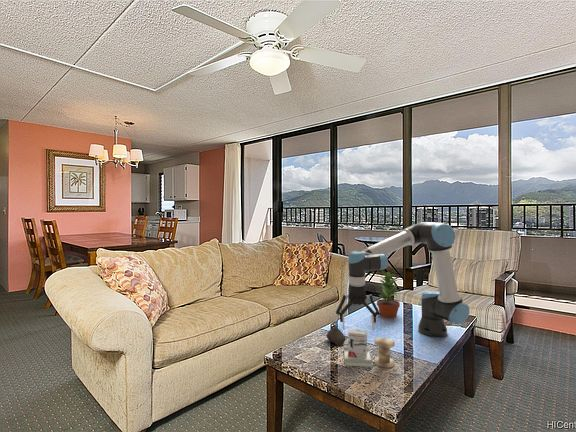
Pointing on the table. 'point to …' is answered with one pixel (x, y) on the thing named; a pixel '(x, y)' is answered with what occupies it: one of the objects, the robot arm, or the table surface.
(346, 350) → the notch board
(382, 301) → the potted plant
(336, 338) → the stone
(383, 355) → the beige door knob
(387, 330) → the table surface
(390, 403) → the table surface
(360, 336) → the ink box
